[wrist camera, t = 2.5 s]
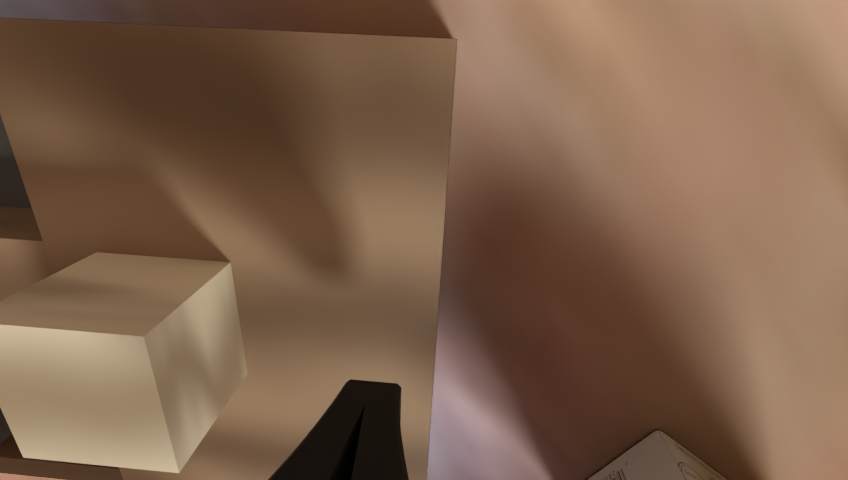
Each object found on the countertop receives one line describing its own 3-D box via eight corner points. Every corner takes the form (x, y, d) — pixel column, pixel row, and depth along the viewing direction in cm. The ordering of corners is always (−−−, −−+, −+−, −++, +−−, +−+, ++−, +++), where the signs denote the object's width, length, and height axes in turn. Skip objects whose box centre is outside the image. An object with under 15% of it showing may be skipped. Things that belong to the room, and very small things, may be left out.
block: (247, 373, 15) (179, 473, 11) (128, 363, 15) (23, 457, 12) (230, 262, 13) (144, 337, 10) (96, 252, 13) (-39, 321, 10)
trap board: (428, 454, 20) (424, 516, 17) (-147, 399, 21) (-236, 448, 19) (456, 45, 13) (457, 38, 10) (-394, 5, 15) (-594, -11, 12)
